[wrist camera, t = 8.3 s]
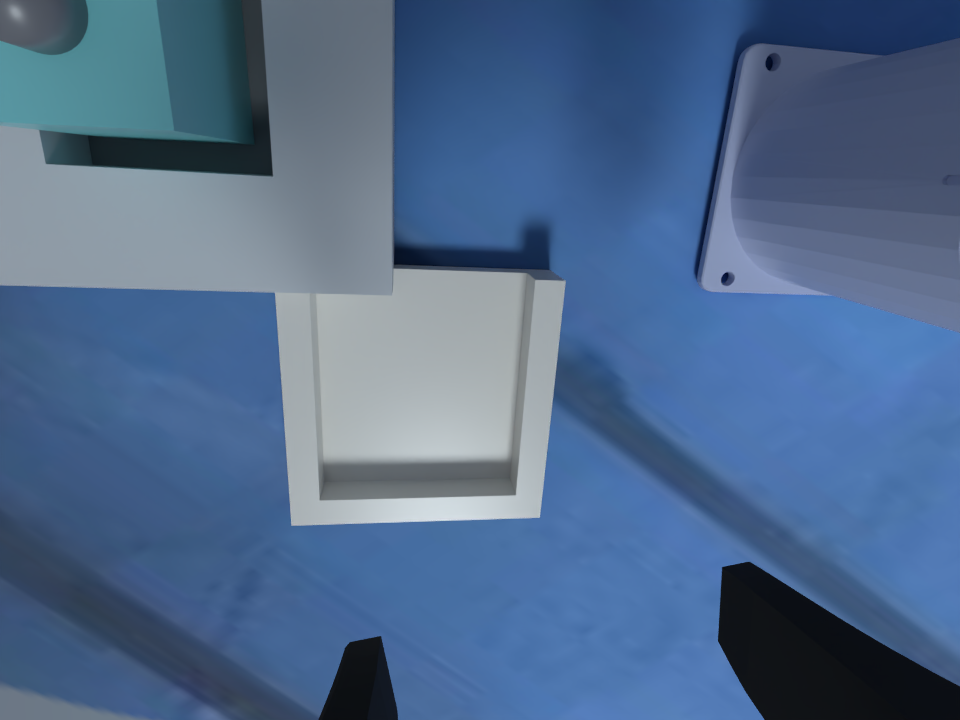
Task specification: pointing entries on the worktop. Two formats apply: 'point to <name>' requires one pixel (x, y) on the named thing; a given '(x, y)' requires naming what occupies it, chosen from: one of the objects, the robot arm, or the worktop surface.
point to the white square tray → (420, 396)
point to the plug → (126, 69)
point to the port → (228, 177)
